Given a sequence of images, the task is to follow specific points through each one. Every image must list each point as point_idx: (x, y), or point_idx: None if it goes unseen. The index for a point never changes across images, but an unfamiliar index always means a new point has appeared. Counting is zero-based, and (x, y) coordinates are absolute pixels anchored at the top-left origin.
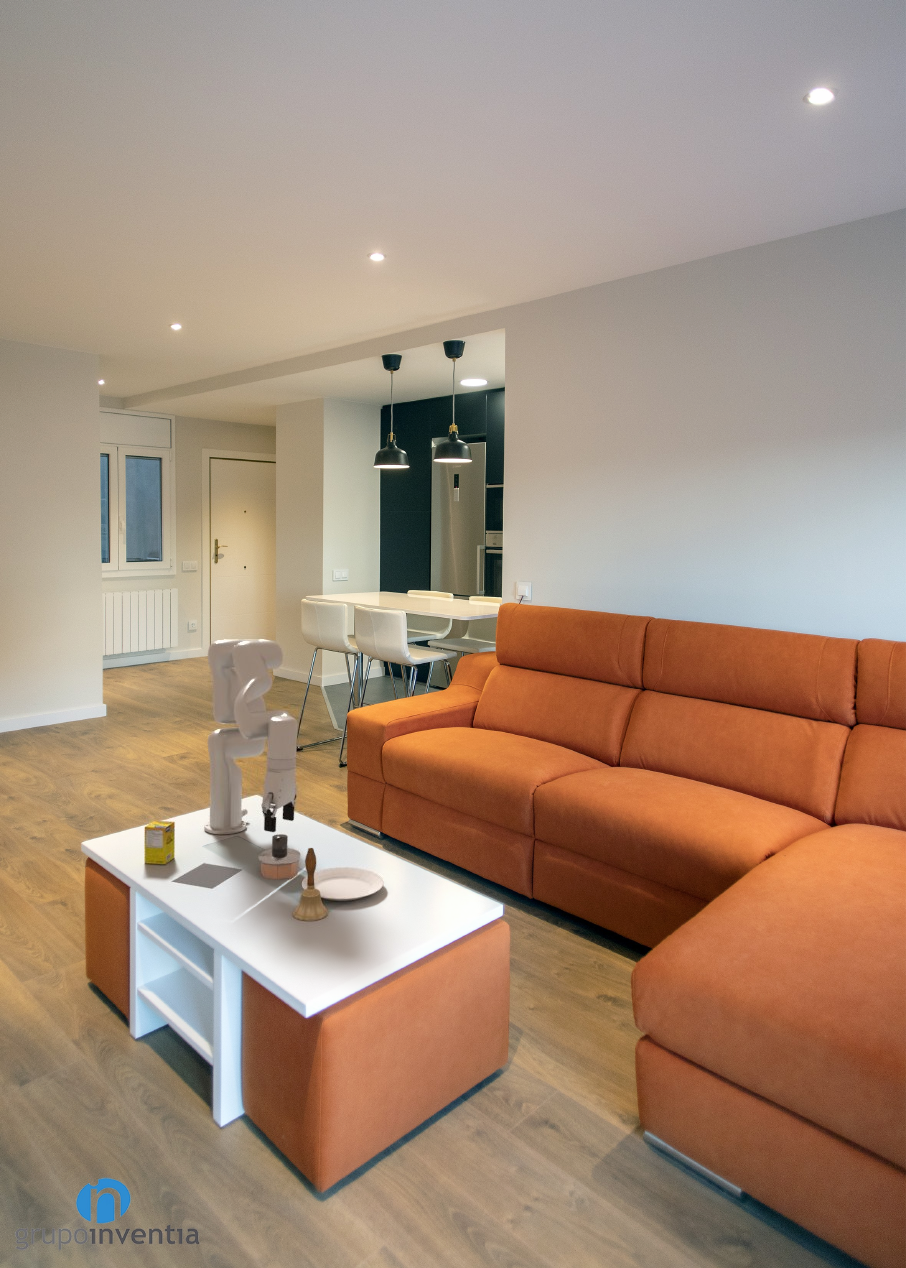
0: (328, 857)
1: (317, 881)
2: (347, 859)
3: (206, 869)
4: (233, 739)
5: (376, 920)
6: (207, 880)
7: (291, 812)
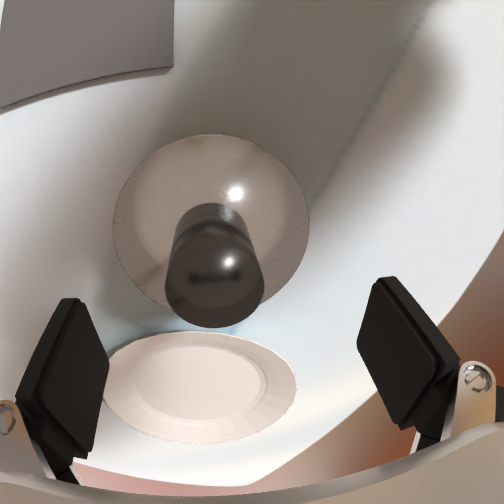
0: (395, 266)
1: (198, 343)
2: None
3: None
4: None
5: (124, 444)
6: (36, 43)
7: (382, 386)
